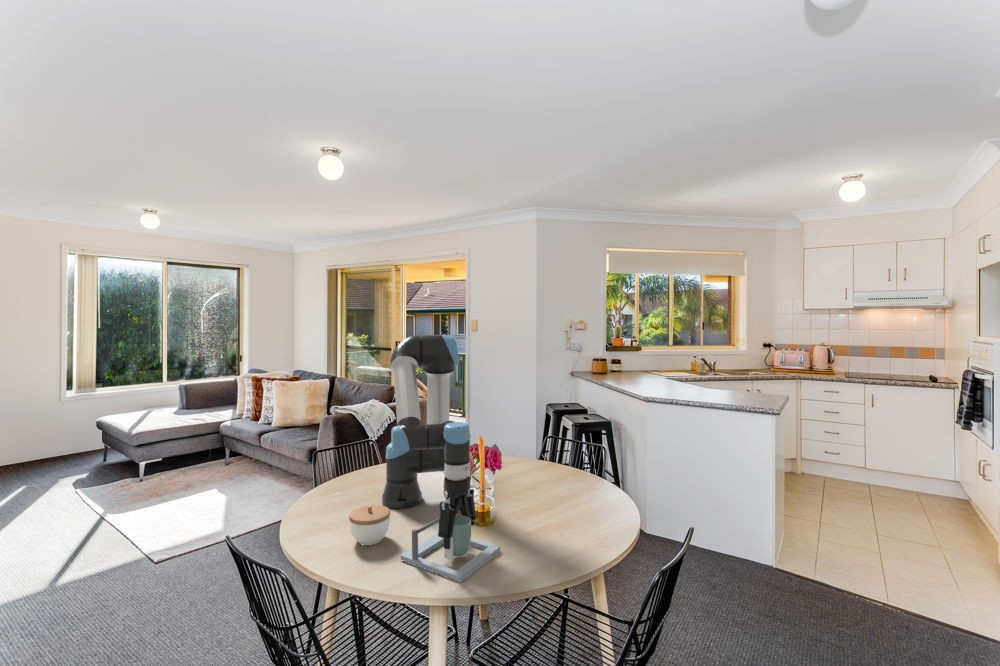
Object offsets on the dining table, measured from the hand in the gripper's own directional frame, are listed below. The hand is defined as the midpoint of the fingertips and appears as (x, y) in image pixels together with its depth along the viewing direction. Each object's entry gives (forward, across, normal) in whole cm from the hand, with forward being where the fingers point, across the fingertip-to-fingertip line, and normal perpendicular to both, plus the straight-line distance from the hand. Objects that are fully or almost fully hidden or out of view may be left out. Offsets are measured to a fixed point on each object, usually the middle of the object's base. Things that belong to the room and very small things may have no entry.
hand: (457, 552), depth 143 cm
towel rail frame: (+2, 0, +2) cm, 3 cm away
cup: (+1, 0, 0) cm, 1 cm away
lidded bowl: (+2, -6, +30) cm, 31 cm away
